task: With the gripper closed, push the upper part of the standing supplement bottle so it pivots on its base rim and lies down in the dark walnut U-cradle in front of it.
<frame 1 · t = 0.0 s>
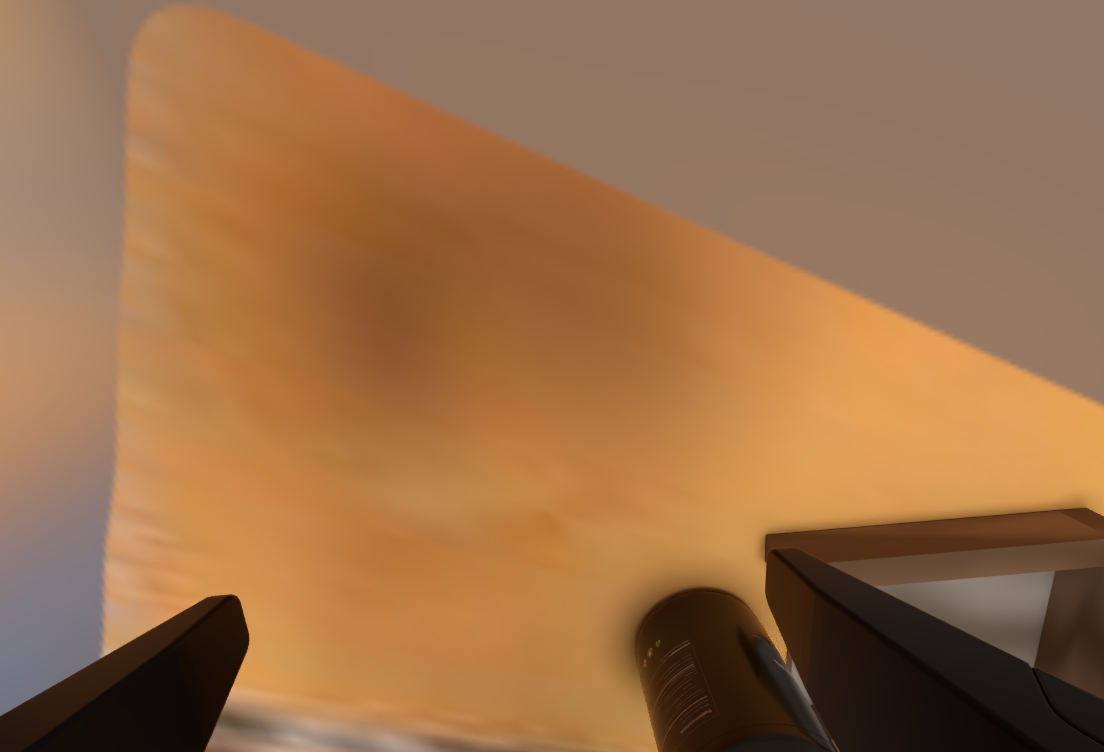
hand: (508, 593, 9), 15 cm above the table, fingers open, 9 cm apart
supplement bottle: (694, 636, 27), on the table
cradle: (899, 622, 27), on the table
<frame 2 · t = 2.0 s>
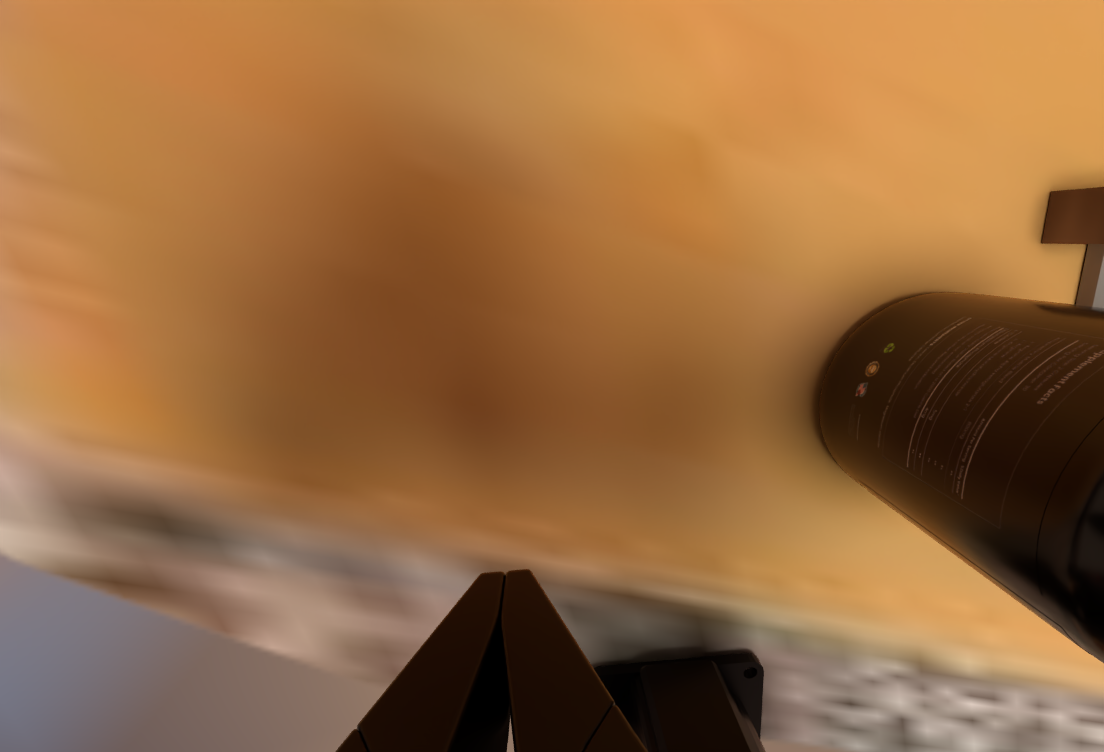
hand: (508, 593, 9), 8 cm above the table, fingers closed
supplement bottle: (907, 389, 17), on the table
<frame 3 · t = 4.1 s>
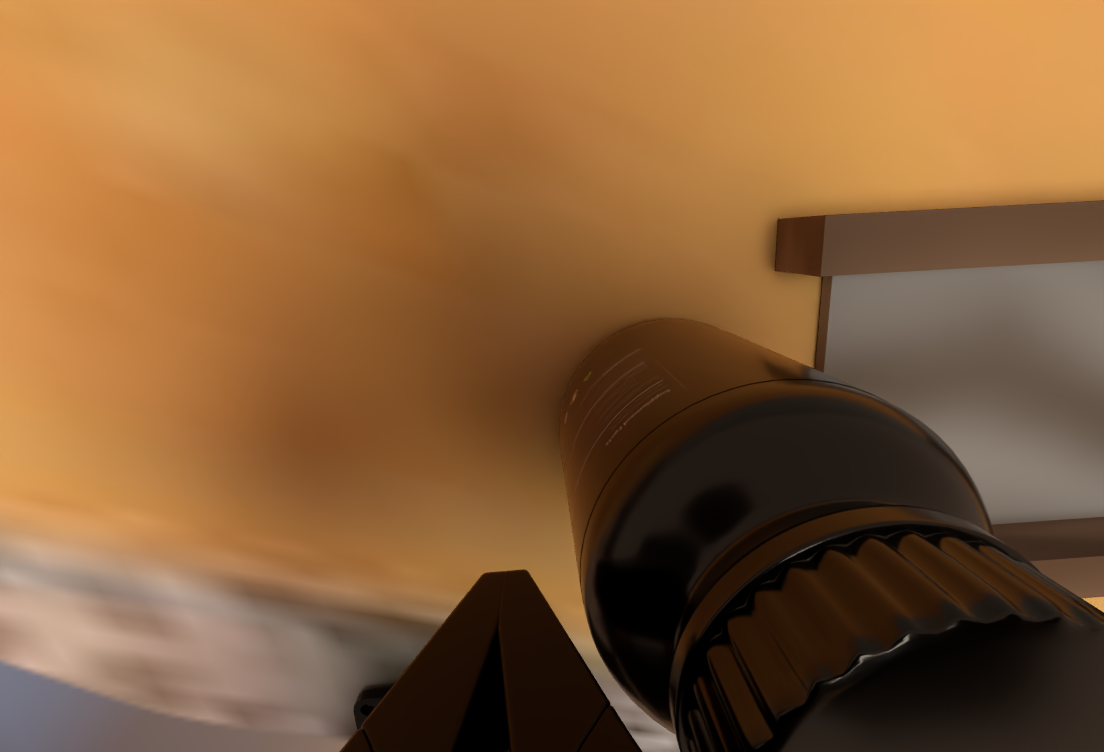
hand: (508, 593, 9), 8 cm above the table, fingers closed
supplement bottle: (658, 415, 17), on the table, touching gripper
cradle: (990, 396, 17), on the table
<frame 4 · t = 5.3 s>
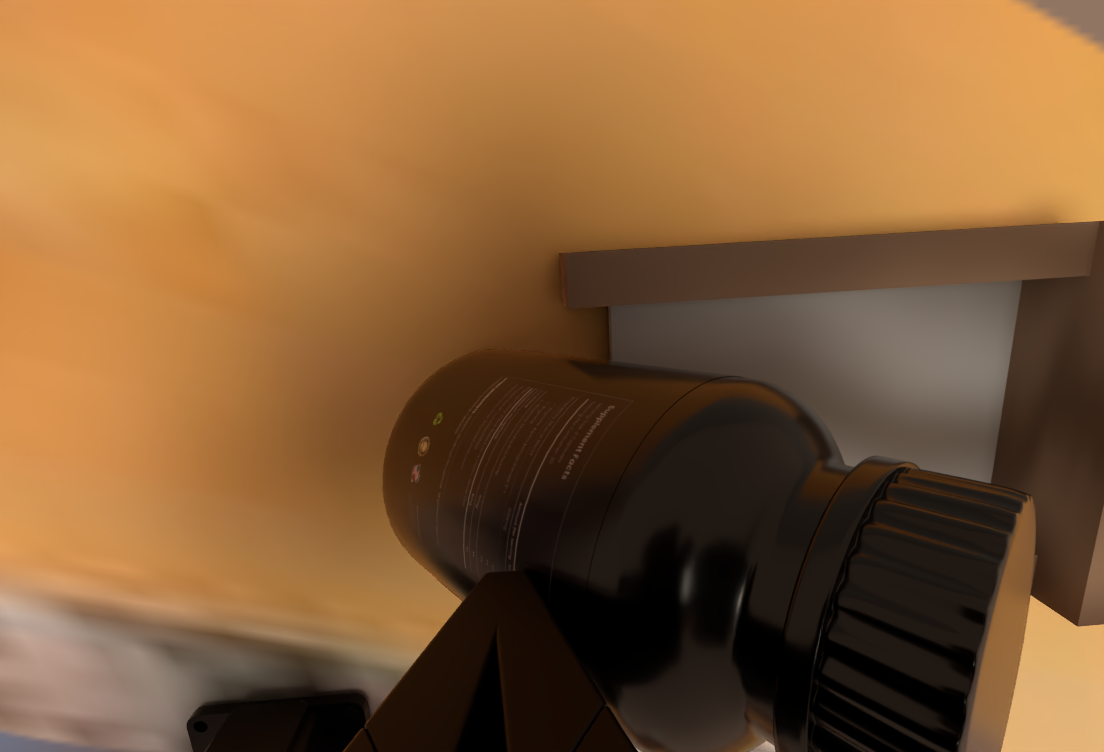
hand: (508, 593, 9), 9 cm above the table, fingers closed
supplement bottle: (478, 454, 16), point 2 cm above the table, touching gripper
cradle: (782, 416, 18), on the table
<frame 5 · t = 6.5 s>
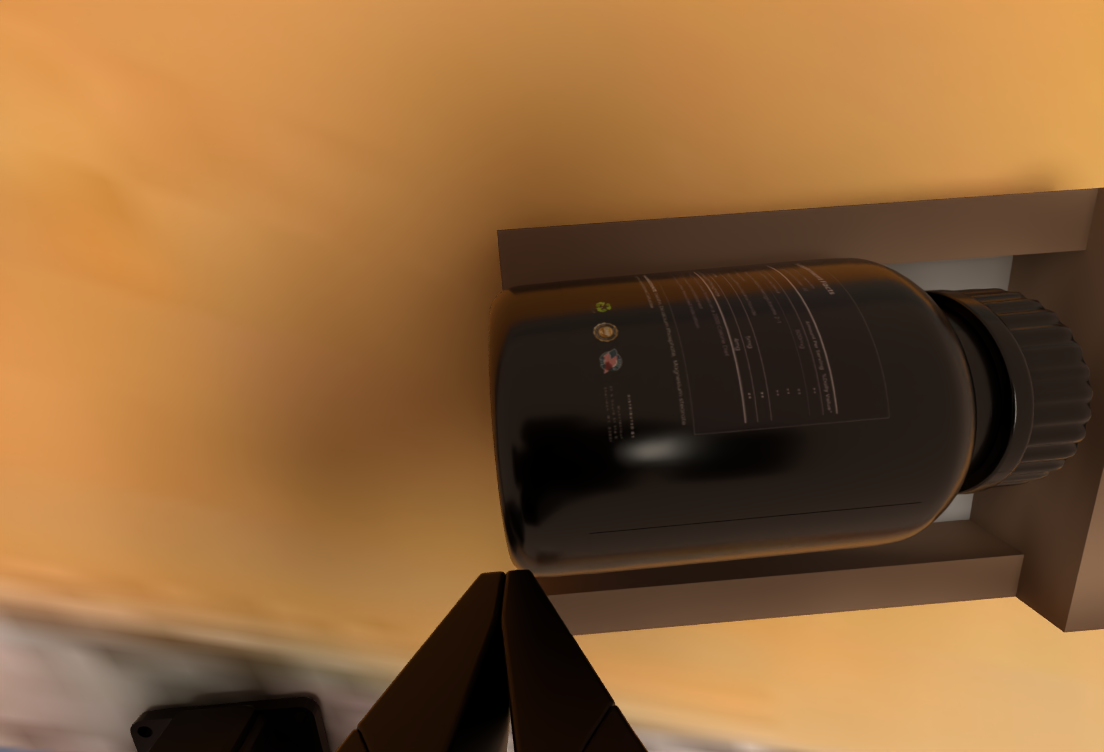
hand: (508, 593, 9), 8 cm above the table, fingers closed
supplement bottle: (494, 427, 12), point 4 cm above the table, touching cradle
cradle: (750, 407, 17), on the table
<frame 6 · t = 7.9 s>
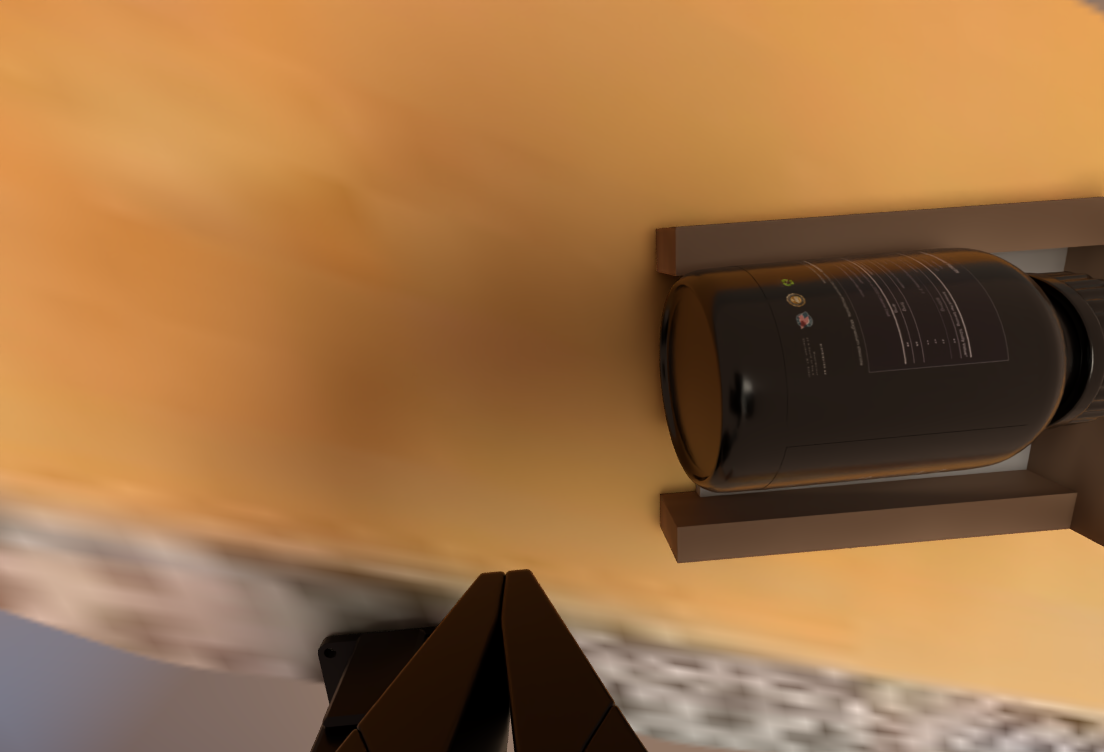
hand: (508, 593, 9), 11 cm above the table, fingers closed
supplement bottle: (676, 380, 16), point 4 cm above the table, touching cradle
cradle: (848, 374, 20), on the table
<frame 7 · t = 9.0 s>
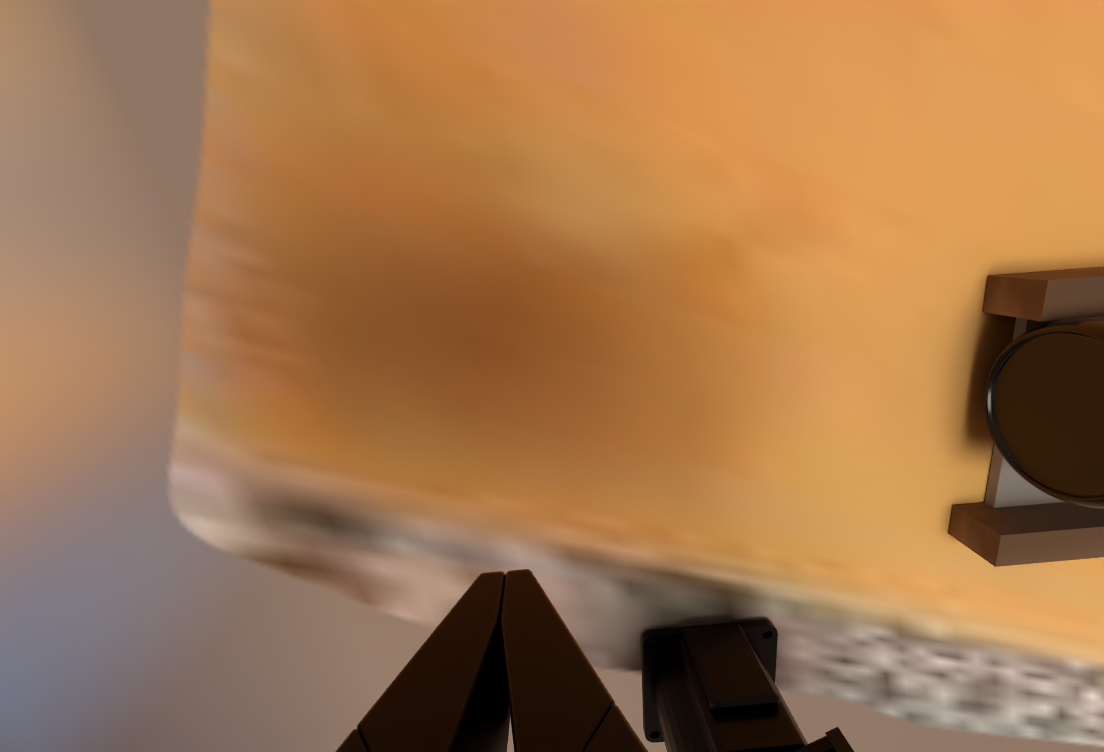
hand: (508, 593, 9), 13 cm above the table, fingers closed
supplement bottle: (1052, 412, 18), point 4 cm above the table, touching cradle
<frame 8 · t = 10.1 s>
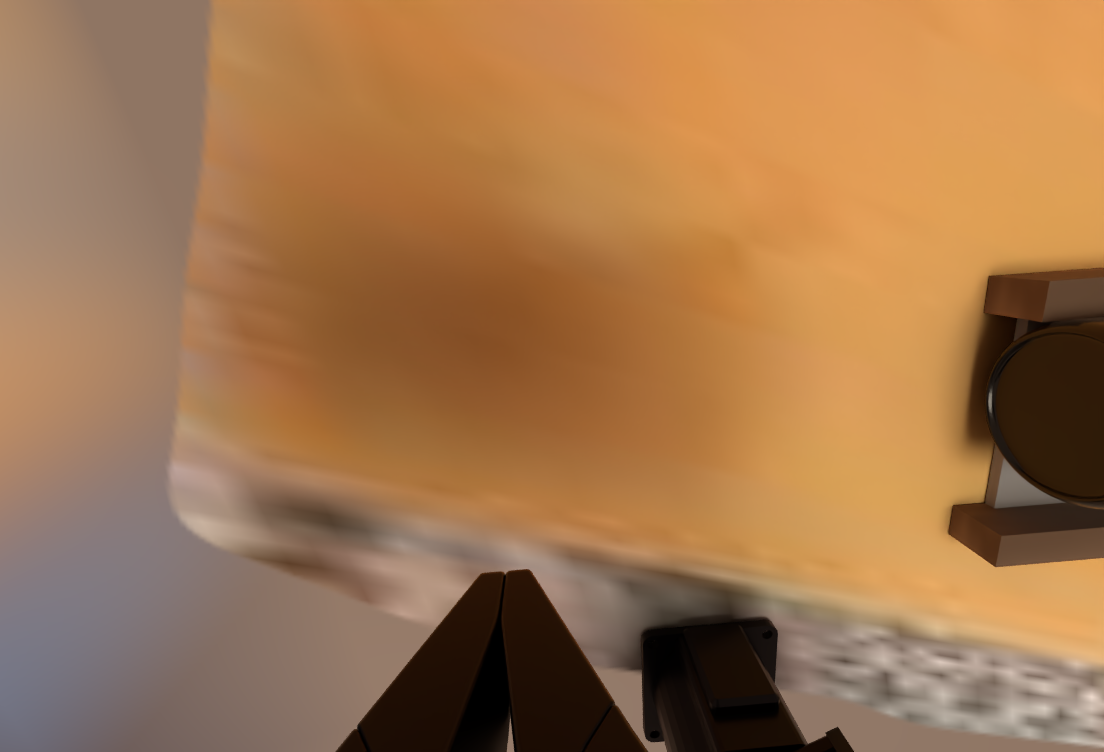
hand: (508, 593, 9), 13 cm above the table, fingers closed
supplement bottle: (1053, 413, 18), point 4 cm above the table, touching cradle
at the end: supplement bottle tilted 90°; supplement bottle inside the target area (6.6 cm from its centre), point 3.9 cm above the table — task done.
